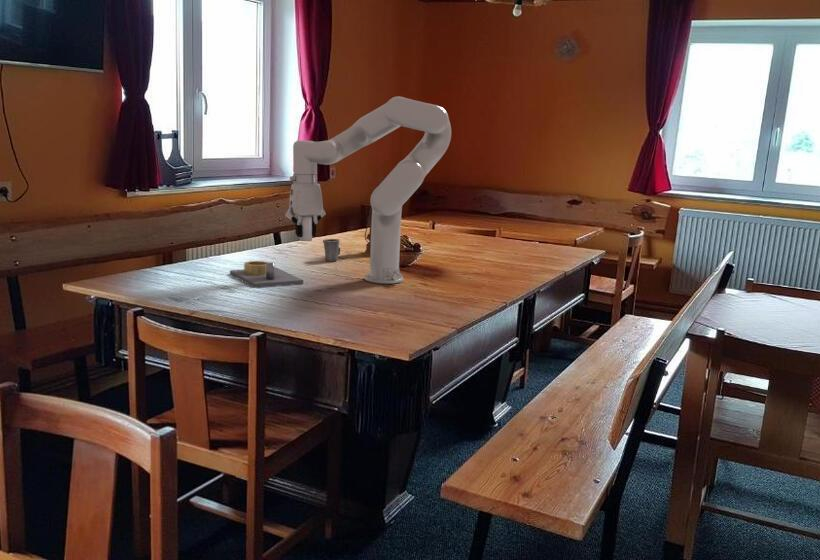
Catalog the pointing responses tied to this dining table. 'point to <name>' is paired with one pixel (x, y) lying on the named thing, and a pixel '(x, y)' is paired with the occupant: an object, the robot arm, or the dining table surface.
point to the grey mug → (331, 249)
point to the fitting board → (261, 280)
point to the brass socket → (255, 267)
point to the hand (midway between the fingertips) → (305, 235)
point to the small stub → (270, 271)
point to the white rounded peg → (306, 228)
